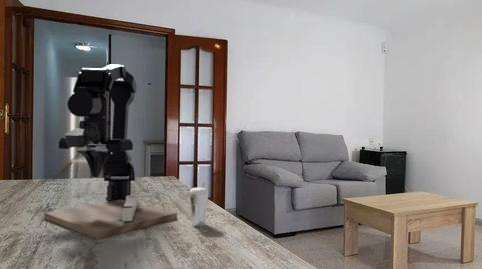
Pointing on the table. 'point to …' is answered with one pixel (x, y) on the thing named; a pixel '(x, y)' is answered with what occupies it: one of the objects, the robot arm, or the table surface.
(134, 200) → the peg lever
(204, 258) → the table surface
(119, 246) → the table surface
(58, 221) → the plate
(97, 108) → the robot arm
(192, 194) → the milkshake
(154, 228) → the table surface
